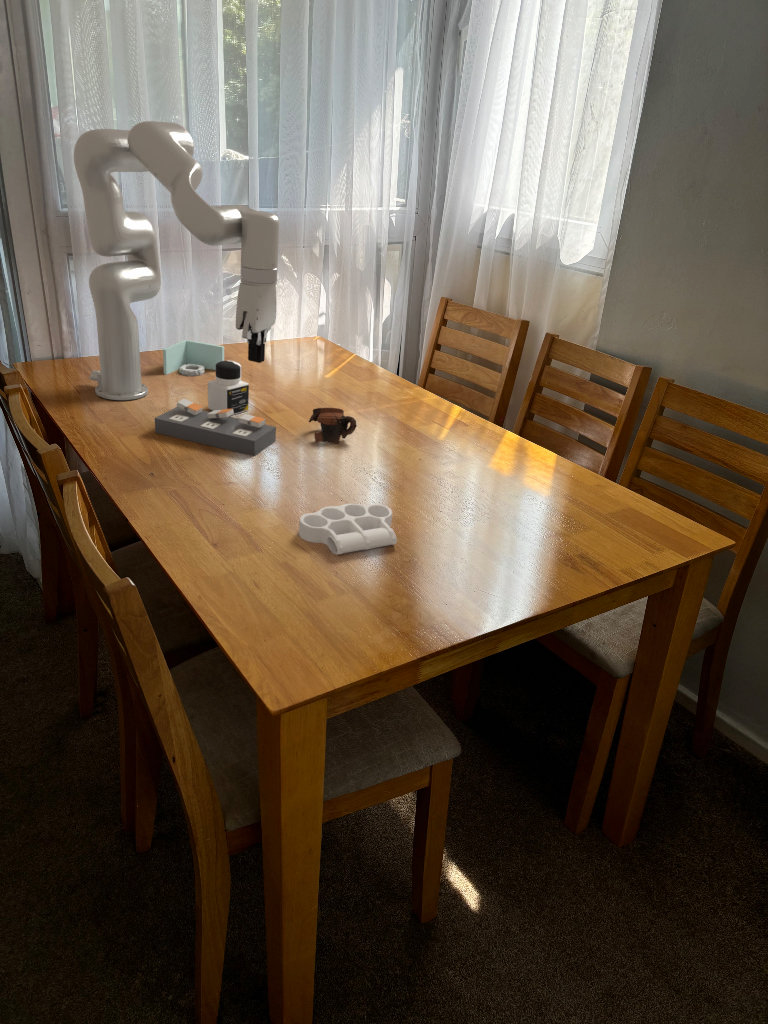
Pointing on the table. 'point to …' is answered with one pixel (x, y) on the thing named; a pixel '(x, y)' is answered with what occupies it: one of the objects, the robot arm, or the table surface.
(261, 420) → the rocker
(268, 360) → the table surface
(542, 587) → the table surface
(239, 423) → the power strip
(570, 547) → the table surface
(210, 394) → the medicine bottle
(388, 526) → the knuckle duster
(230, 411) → the rocker
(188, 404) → the rocker
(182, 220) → the robot arm
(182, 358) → the right angle wall
